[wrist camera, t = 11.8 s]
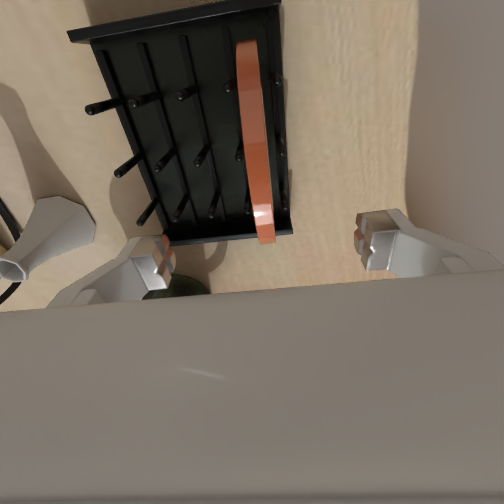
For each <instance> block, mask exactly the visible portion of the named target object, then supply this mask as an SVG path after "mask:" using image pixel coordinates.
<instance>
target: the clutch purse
mask: <svg viewBox="0 0 504 504" xmlns="http://www.w3.org/2000/svg"><path fill="white" fill-rule="evenodd" d="M0 215H1V216H2V218H3V220H4V221H5V223H6V225H7V226H8V228H9V230H10V232H11V234H12V236H13V238H14V240H15V242H16V241H17V240H18V239H19V238H20V236H21V235H20V233H19V231H18V229H17V227H16V225H15V224H14V222H13V220H12V219H11V217H10V215H9V214H8V212H7V211H6V209H5V208H4V206H3V205H2V203H1V202H0ZM6 252H7V250H6V249H5V248H4V247H3V246H2V245H1V244H0V256H2V255H3V254H5V253H6ZM0 279H1V278H0ZM20 284H21V282H13V283H12V285H11V286H10V287H9V288H8V289H7V290H6V291H5V292H4V293H3V294H2V295H1V296H0V304H2V303H3V302H4V301H5V300H6V299H7V298H8V297H9V296H10V295H11V294H12V293H13V292H14V291H15V290H16V289H17V288H18V286H19V285H20Z"/></svg>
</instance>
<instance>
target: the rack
mask: <svg viewBox="0 0 504 504" xmlns="http://www.w3.org/2000/svg"><path fill="white" fill-rule="evenodd" d="M281 2H282V1H281V0H225V1H220V2H215V3H210V4H204V5H199V6H194V7H189V8H184V9H178V10H173V11H168V12H163V13H158V14H152V15H147V16H142V17H137V18H132V19H126V20H121V21H116V22H111V23H106V24H100V25H95V26H90V27H85V28H79V29H74V30H69V31H67V34H68V36H69V39H70V41H71V42H72V43H81V44H90V45H91V47H92V50H93V53H94V55H95V58H96V60H97V63H98V65H99V68H100V70H101V73H102V75H103V78H104V80H105V83H106V85H107V88H108V91H109V93H110V96H111V98H112V99H109V100H105V101H101V102H98V103H94V104H90V105H87V106H85V112H86V113H87V114H88V115H95V114H98V113H101V112H104V111H107V110H110V109H113V108H116V111H117V113H118V116H119V118H120V121H121V124H122V126H123V129H124V131H125V134H126V136H127V139H128V141H129V144H130V146H131V149H132V151H133V154H134V156H133V157H132V158H131V159H129V160H128V161H127V162H125V163H124V164H123V165H122V166H120V167H119V168H118V169H116V170H115V171H114V175H115V176H116V177H117V178H121V177H122V176H123V175H124V174H126V173H127V172H128V171H129V170H130V169H131V168H133V167H134V166H135V165H136V164H138V167H139V169H140V172H141V174H142V177H143V179H144V182H145V184H146V187H147V189H148V192H149V195H150V197H151V200H152V202H151V203H150V204H149V206H148V207H147V208H146V210H145V211H144V212H143V213H142V215H141V216H140V217H139V219H138V220H137V225H138V226H143V225H144V223H145V222H146V220H147V219H148V218H149V216H150V215H151V213H152V212H153V210H154V209H155V210H156V212H157V215H158V217H159V220H160V222H161V225H162V228H163V230H164V231H163V233H162V235H163V234H165V235H166V236H167V237H168V239H169V241H170V244H169V246H168V247H170V246H180V245H189V244H199V243H209V242H219V241H229V240H238V239H248V238H258V235H257V231H256V226H255V221H254V215H253V209H252V203H251V196H250V190H249V183H248V175H247V168H246V160H245V152H244V144H243V135H242V126H241V117H240V107H239V96H238V84H237V69H236V44H237V42H239V41H245V40H251V39H256V41H257V51H258V62H259V72H260V82H261V86H262V95H263V105H264V115H265V125H266V136H267V146H268V157H269V167H270V178H271V188H272V199H273V210H274V211H273V217H274V227H275V236H278V235H288V234H293V228H292V223H291V218H290V203H289V185H288V166H287V148H286V129H285V111H284V92H283V73H282V55H281V36H280V18H279V8H280V5H281Z"/></svg>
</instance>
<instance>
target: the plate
mask: <svg viewBox="0 0 504 504" xmlns="http://www.w3.org/2000/svg"><path fill="white" fill-rule="evenodd" d="M236 69H237V84H238V96H239V107H240V117H241V126H242V135H243V144H244V152H245V160H246V168H247V175H248V183H249V190H250V196H251V203H252V209H253V215H254V221H255V226H256V231H257V235H258V239H259V242H260V244H261V245H263V244H273V243H276V238H275V227H274V217H273V211H274V210H273V199H272V188H271V178H270V167H269V157H268V146H267V136H266V125H265V115H264V105H263V95H262V86H261V82H260V72H259V62H258V51H257V41H256V39H251V40H245V41H239V42H237V44H236Z"/></svg>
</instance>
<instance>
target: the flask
mask: <svg viewBox="0 0 504 504" xmlns="http://www.w3.org/2000/svg"><path fill="white" fill-rule="evenodd" d="M95 228H96V225H95V224H94V222H93V220H92V219H91V217H90V215H89V214H88V212H87V210H86V209H85V207H84V206H82V205H80V204H77V203H75V202H72V201H70V200H68V199H65V198H63V197H60V196H56V197H49V198H43V199H38V200H37V202H36V204H35V206H34V208H33V211H32V213H31V215H30V218H29V220H28V222H27V224H26V226H25V228H24V230H23V232H22V234H21V236H20V238H19V239H18V240H17V241H16V243H15V244H14V245H13V246H12V247H11V249H10V250H8V251H7V252H6V253H5V254H3V255H2V256H0V278H2V279H6V280H9V281H12V282H22V281H26V280H27V279H28V278H29V273H30V272H31V271H32V270H33V269H34V268H36V267H37V266H38V265H40V264H42V263H43V262H45V261H47V260H48V259H50V258H52V257H55V256H57V255H60V254H62V253H65V252H67V251H70V250H72V249H75V248H78V247H81V246H84V245H86V244H89V243H91V242H93V238H94V233H95Z"/></svg>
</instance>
